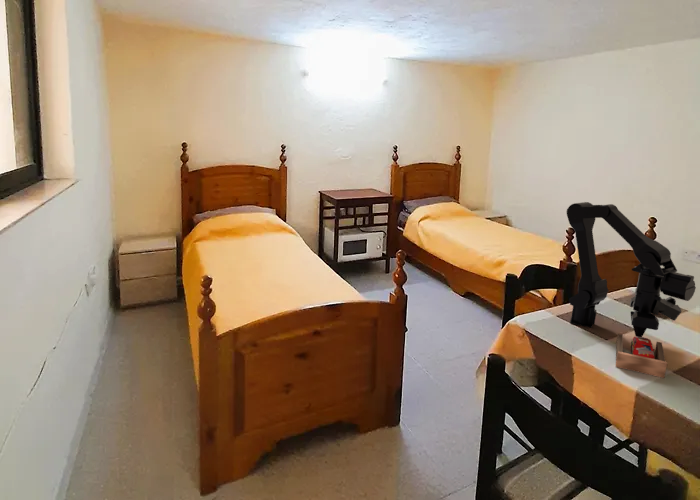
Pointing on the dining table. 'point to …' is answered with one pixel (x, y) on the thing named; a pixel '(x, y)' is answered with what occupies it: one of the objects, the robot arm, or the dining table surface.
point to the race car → (642, 347)
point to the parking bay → (641, 360)
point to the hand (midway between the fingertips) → (638, 338)
